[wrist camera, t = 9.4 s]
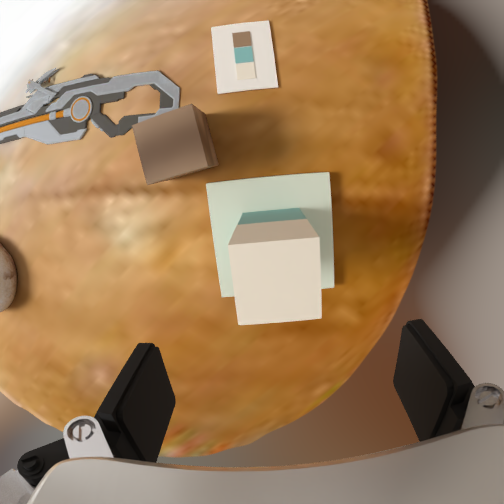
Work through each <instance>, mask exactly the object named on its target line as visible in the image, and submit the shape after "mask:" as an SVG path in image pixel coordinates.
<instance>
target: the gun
mask: <svg viewBox="0 0 504 504" xmlns="http://www.w3.org/2000/svg"><path fill="white" fill-rule="evenodd" d="M55 69H56V68H54V69H52V70H50V71H48V72H46V73H45V74H44V75H43V76H42V77H40V78H39V79H38V80H37V81H36V82H33V81H32V80H29V82H28V84H27V87H28V89H27V90H26V93H27V92H28V91H29V90H30V91H29V92H30V94H31V93H32V92H33V91H34V90H35V89H37V91H36V92H35V94H33V95H30V96H27V97H26V98H29V97H31V98H30V99H29V100H28V102H27V103H26V104H25V105H22V106H19V107H15V108H13V109H10V110H7V111H4V112H1V113H0V127H1V126H4V127H1V128H0V144H2V143H5V142H9V141H13V140H17V139H21V138H23V137H28V138H30V139H33V140H36V141H39V142H42V143H45V144H54V143H60V142H66V141H73V140H80V139H81V138H82V137H83V135H84V134H85V132H86V131H87V129H85V128H87V121H88V120H89V119H90V118H91V121H92V123H93V125H94V126H95V127H96V128H99V127H100V130H101V131H104V132H105V133H106V134H107V135H108V136H109V137H115V136H117V135H124V134H125V133H126V132H128V131H129V130H130V129H131V128H133V127H132V125H134V124H137V123H139V122H142V121H144V120H147V119H150V118H152V117H155V116H158V115H160V114H163V113H166V112H169V111H172V110H175V109H178V108H179V98H180V88H179V87H178V86H177V85H175V84H174V83H173V82H172V81H170V80H169V79H168V78H167V77H165V76H164V75H163V74H162V73H160V72H159V71H149V72H141V73H133V74H126V75H120V76H114V77H113V78H99V76H97V75H93V74H88V75H84V76H83V77H82V78H80V79H76V80H72V81H68V82H64V83H60V84H56V85H53V86H49V87H46V88H43V87H41V85H40V84H42V83H43V82H44V83H45V81H46V80H48V79H49V81H48V82H49V83H50V77H51V76H52V75H53V74H54V73H56V72H57V71H58V70H59V69H57V70H55ZM54 70H55V71H54ZM39 81H40V82H39ZM38 82H39V83H38ZM143 85H150V86H151V87H152V88H153V89H157V90H158V91H159V92H160V109H159V110H158V111H157V112H156V113H152V114H140V115H131V116H124V117H123V118H122V119H121V120H120V121H119V125H115V124H114V123H113V122H112V121H111V120H110V119H109V118H108V117H107V116H106V115H103V114H102V113H101V104H103V103H109V102H115V101H118V100H119V99H124V94H125V92H127V91H130V90H131V89H132V88H134V87H135V86H143ZM59 97H60V98H59ZM55 98H59V99H58V100H57V102H55V103H52V104H51V105H47V106H45V105H46V104H49V103H51V102H52V101H53V99H55ZM50 100H51V102H50ZM21 108H22V109H21ZM20 109H21V110H20ZM19 110H20V111H19ZM60 110H64V111H60ZM56 111H60V112H56ZM48 113H50V114H48ZM44 114H47V115H44ZM40 115H43V116H40ZM36 116H39V117H36ZM32 117H35V118H32ZM59 117H64V118H59ZM28 118H31V119H28ZM56 118H59V119H56ZM25 119H27V120H25ZM21 120H24V121H21ZM46 120H47V121H46ZM18 121H20V122H18ZM41 121H43V122H41ZM14 122H17V123H14ZM37 122H39V123H37ZM11 123H13V124H11ZM33 123H35V124H33ZM8 124H10V125H8ZM29 124H31V125H29ZM5 125H7V126H5ZM26 125H27V126H26ZM22 126H23V127H22ZM18 127H19V128H18ZM15 128H16V129H15ZM11 129H12V130H11ZM8 130H9V131H8ZM4 131H5V132H4ZM1 132H2V133H1Z"/></svg>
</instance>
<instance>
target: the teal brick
mask: <svg viewBox="0 0 504 504" xmlns="http://www.w3.org/2000/svg"><path fill="white" fill-rule="evenodd" d="M297 219H307V218H306V217H305V215H304V214H303V213H302V211H301V210H300V208H289V209H278V210H267V211H256V212H246V213H242V216H241V218H240V220H239V222H238V225H241V224H251V223H262V222H274V221H285V220H297Z"/></svg>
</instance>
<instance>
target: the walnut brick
mask: <svg viewBox="0 0 504 504" xmlns="http://www.w3.org/2000/svg"><path fill="white" fill-rule="evenodd" d="M132 127H133V131H134V135H135V140H136V144H137V148H138V152H139V156H140V160H141V163H142V167H143V171H144V175H145V178H146V182H147V185H149V184H154V183H158V182H162V181H167V180H170V179H174V178H177V177H180V176H183V175H187V174H190V173H193V172H197V171H200V170H204V169H207V168H211V167H214V166H218V165H219V164H218V160H217V157H216V153H215V149H214V145H213V141H212V138H211V134H210V130H209V126H208V122H207V119H206V115H205V114H204V113H203V112H202V111H201V110H199V109H198V108H196V107H195V106H194V105H192V104H190V105H187V106H183V107H180V108H178V109H175V110H172V111H169V112H166V113H163V114H160V115H158V116H155V117H152V118H150V119H147V120H144V121H142V122H139V123H137V124H134V125H132Z"/></svg>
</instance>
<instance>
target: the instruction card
mask: <svg viewBox="0 0 504 504" xmlns="http://www.w3.org/2000/svg"><path fill="white" fill-rule="evenodd" d="M211 31H212V41H213V52H214V62H215V72H216V82H217V92H218V94H224V93H231V92H239V91H248V90H257V89H268V88H278V81H277V74H276V66H275V59H274V52H273V45H272V38H271V31H270V25H269V21H258V22H248V23H239V24H231V25H224V26H217V27H211Z"/></svg>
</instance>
